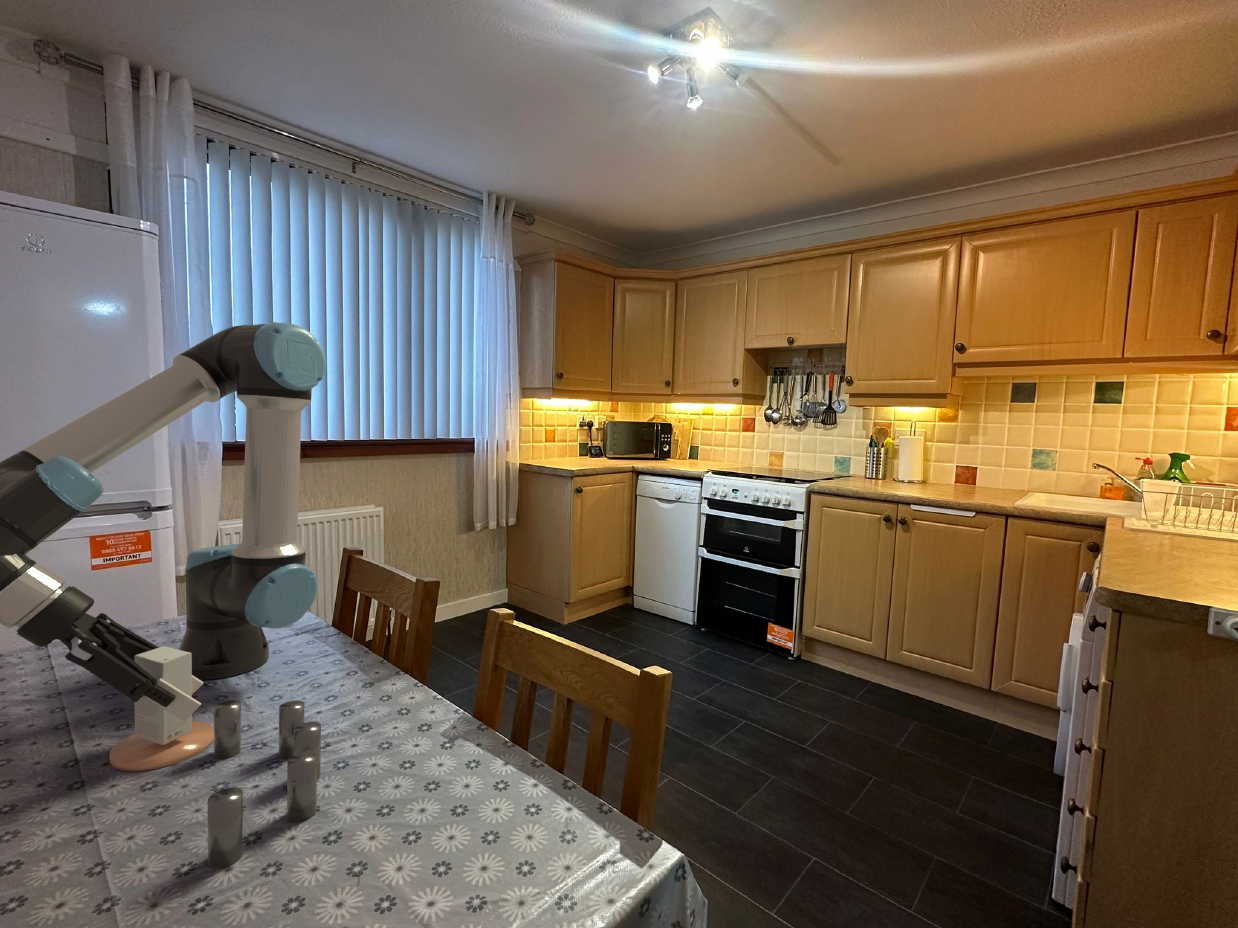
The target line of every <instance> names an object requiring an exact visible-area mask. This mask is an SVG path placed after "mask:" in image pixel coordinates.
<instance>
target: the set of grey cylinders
mask: <svg viewBox="0 0 1238 928" xmlns="http://www.w3.org/2000/svg"><path fill="white" fill-rule="evenodd" d="M213 710H214V711H213V728H214V740H213V757H214V758H215V759H218V760H223V759H224V760H225V759H229V758H233V757H235V756H237V755H238V754H239V753H240V752H241V751H242V744H241V743H242V739H241V738H242V701H240V700H238V699H228V700H224V701H221V702H218V703H217V704H215V705H214V707H213ZM321 741H322V724H321V723H320V722H318V721H314V720H313V721H306V722H305V702H304V701H303V700H290V701H286V702H283V703H282V704H280V705H279V706H278V757H279V758H280V759H283V760H284V759H285V760H287V763H286V764H287V769H286V770H287V772H286V773H287V774H286V775H287V776H286V777H287V779H286V780H287V781H286V819H287V820H288V821H289V822H293V823H301V822H304V821H306V820H309V819H311V818H312V817H313V816H315V814H316V813H317V805H318V804H317V800H318V799H317V798H318V797H317V796H318V795H317V794H318V791H317V790H318V780H319V779H320V778H321V766H322V765H321V764H322V763H321V760H322V759H321V758H322V756H321V754H322V753H321V751H322V750H321V749H322V742H321ZM243 792H244V790H243V789H242V788H240V787H235V786H234V787H226V788H222V789H220V790H216V791H215V792H214V793H212V794H211V795H210V796H208V799H207V866H208V867H209V868H210V869H214V870H215V869H216V870H217V869H223V868H226V867H230V866H231V865H234V864H236V863H237V862H238V861H239V860H240V859H241V858H242V856H243V851H244V850H243V848H244V847H243V845H244V843H243V842H244V840H243V839H244V838H243V836H244V835H243V834H244V821H243V820H244V793H243Z"/></svg>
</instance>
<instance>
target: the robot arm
mask: <svg viewBox="0 0 1238 928" xmlns="http://www.w3.org/2000/svg"><path fill="white" fill-rule="evenodd" d="M326 370H327V359H326V353H325V351H324V348H323V347H322V345H321V343H320V342H319V340H317V339H316V337H315V336H314V334H313V333H311V332H310V331H309V330H308V329H306V328H305V327H303V326H301V325H298V324H294V323H288V322H286V323H285V322H274V321H273V322H272V321H271V322H268V323H267V322H266V323H260V324H243V325H241V324H239V325H236V326H231V327H228V328H226V329H225V328H224V329H222V330H221V331H218V332H216V333H214V334H213V335H211V336H209V337H208V338H205V339H204V340H202V341H200V342H199V343H197V344H196V345H193V346H192V347H190V348H189V349H187V350H185V351H184V352H181V353H180V354H178V355H176V356H175V357H173V359H172V366H170V367H168V368H167V369H165V370H163V371H161V372H159V373H157V374H155V375H154V376H152V377H151V378H148V379H146V380H145V381H143V382H141V383H140V384H138V385H136V386H134V387H133V388H130V389H129V390H127V391H125V392H123V393H122V394H120V395H118V396H116V397H114V398H112V399H110V401H107V402H106V403H104V404H102V405H100V406H98V407H97V408H95V409H93V410H91V411H90V412H88V413H86V414H84V415H82V416H80V417H79V418H78V419H75V420H73V421H72V422H70V423H68V424H66V425H65V426H62V427H61V428H59V429H57V430H55V431H54V432H52V433H51V434H48V435H46V436H45V437H43V438H41V439H39V440H37V441H36V442H34V443H33V444H30V445H29V446H27V447H26V448H24V449H22V450H21V451H18V452H17V453H15V454H13V455H11V456H9V457H7V458H5V459H3V460H2V461H0V625H2V626H3V627H5V628H7V629H10V628H14V627H17V629H16V635H18V636H20V637H21V638H23V639H24V640H27V642H30V643H32V644H33V645H35V646H36V647H39V648H45V647H46V646H49V645H50V644H51V643H52V642H53V641H55V640H58V641H60V642H61V643H62V644H63V645H65V646H66V647H67V649H68V653H67V654H65V656H64V658H65V659H66V660H67V661H69V662H72V663H74V664H76V665H77V666H80V667H82V668H84V669H85V670H87V671H89V673H91V674H92V675H94V676H96V677H97V678H98V679H100V680H102V681H103V682H105V683H106V684H107V685H109V686H111V687H112V688H114V689H115V690H117V691H118V692H120V693H121V694H123V695H125V696H126V697H127V698H128V699H130V701H132V702H134V703H135V702H137V701H138V700H139V699H140V698H141V697H144V698H145V699H147V700H149V701H150V702H152V703H154V704H156V705H157V706H159V707H161V708H162V709H164V710H166V711H167V712H169V713H171V714H172V715H174V716H176V717H177V718H179V719H181V720H182V721H185V720H186V719H187V718H188V717H189V716H190V715H191V714H192V715H193V714H194V712H196V710H197V709H199V708H200V706H202V703H201V702H200V701H198V700H197V699H195V698H193V697H190V696H189V695H187V694H185V693H184V692H182V691H181V690H179V689H177V688H176V687H174V686H173V685H171V684H169V683H168V682H166V681H164V680H163V679H161V678H160V679H159V680H158V681H157V679H156V678H154V677H153V676H152V675H150V674H149V673H148V672H147V671H145V670H144V669H143V668H142V667H141V666H139V665H138V664H137V663H136V662H134V656H135V655H138V654H141V653H144V652H147V651H150V650H154V649H157V648H160V647H161V646H157V645H156V644H154V643H152V642H150V641H149V640H147V639H145V638H143V637H141V636H140V635H138V634H137V633H135V632H133V631H132V630H130V629H128V628H127V627H124V625H121V624H119V623H118V622H116V621H115V620H113V619H112V618H111V617H110V616H108V615H107V614H106V613H103V612H100V613H99V614H98V615H96V616H92V615H90V614H88V613H87V612H88V611H89V610H90V609H91V608H92V607H93V606H94V604H95V599H94V598H92V597H91V596H89V595H88V594H86V593H84V592H83V591H82V590H80V589H78V588H77V587H76V586H74V585H73V586H70V585H69V586H68V587H66V586H65V584H66V580H65V579H64V578H62V577H60V576H59V575H57V574H56V573H55V572H53V571H51V570H49V569H48V568H47V567H45V566H44V565H42V564H40V563H38V562H36V561H35V560H33V559H31V558H30V557H29V556H28V555H27V554H28V553H29V552H31V551H32V550H33V549H35V548H37V547H38V545H40V544H41V543H43V542H44V541H46V540H47V539H48V538H49V537H51V536H52V535H53V534H55V533H56V532H57V531H59V530H60V529H61V528H62V527H64V526H65V525H66V524H68V523H69V522H71V521H72V520H73V519H75V518H76V517H77V516H79V515H80V514H81V513H83V512H85V511H86V510H88V508H89V507H90V506H91V505H92V504H94V502H96V500H98V499H99V498H101V496H102V495H103V493H104V486H103V483H101V482H100V479H98V478H97V477H96V476H95V475H94V474H93V472H95V471H96V470H97V469H99V468H100V467H102V466H104V465H106V464H107V463H109V462H110V461H112V460H114V459H115V458H117V457H118V456H120V455H122V454H123V453H124V452H126V451H128V450H130V449H131V448H133V447H135V446H136V445H137V444H139V443H141V442H142V441H144V440H145V439H148V438H149V437H150V436H152V435H154V434H155V433H156V432H158V431H160V430H162V429H164V428H165V427H166V426H168V425H170V424H171V423H172V422H174V421H176V420H178V419H180V418H181V417H182V416H184V415H185V414H187V413H189V412H190V411H192V410H193V409H195V408H197V407H199V406H200V405H202V404H203V403H205V402H209V403H216V402H217V401H220V400H221V399H223V398H224V397H226V396H228V395H230V394H233V393H235V392H236V398H237V399H238V400H239V401H240V402H241V403H242V404H243V405H244V407H245V408H246V410H245V411H246V414H245V415H246V416H245V442H244V445H245V447H244V451H245V452H244V474H243V475H244V477H243V500H242V501H243V507H242V508H243V509H242V531H241V532H242V534H241V537H242V539H241V543H236V544H235V543H234V544H233V543H232V544H224V545H216V546H210V547H205V548H204V547H203V548H199V549H195V550H193V551H191V552H190V553H188V554H187V557H186V558H187V559H186V566H185V570H184V573H185V593H186V594H185V599H186V600H185V602H186V611H185V612H186V615H185V617H186V619H185V620H186V622H185V623H186V628H185V632H184V636H183V637H182V640H181V643H180V646H179V649H178V650H181V651H186V652H190V653H192V695H194V693H196V691H197V690H199V688H201V686H203V685H204V681H202V680H213V679H215V680H217V679H221V678H223V679H224V678H229V677H232V676H237V675H241V674H244V673H248V672H250V671H253V670H255V669H258V668H259V667H261V666H263V665H264V664H265V663H266V662H268V660H269V659H270V658H269V657H270V647H269V646H270V645H269V643H268V641H267V638H266V635H265V633H264V630H263V628H268V629H282V628H286V627H289V626H291V625H293V624H294V623H295V624H296V622H298V621H299V620H301V619H302V618H303V617H304V616H305V614H306V612H308V611H309V610H310V609H311V608H312V606H313V605H314V602H315V600H316V598H317V595H318V592H319V591H318V590H319V584H318V583H319V582H318V578H317V575H316V574H315V573H314V572H313V571H312V569H311V568H310V567H308V566H306V551H307V549H306V548H305V547H304V545H302V544H301V543H300V542H299V541H298V524H299V523H298V520H299V496H300V495H299V490H300V467H301V466H300V463H301V438H302V437H301V436H302V435H301V433H302V412H303V410H304V409H305V408H306V407H308V406H309V405H310V404H311V403H312V393H313V391H312V389H314V388H315V387H317V386H318V385H319V383H320V381H322V380H323V379H324V377H325V374H326ZM137 684H139V685H137Z"/></svg>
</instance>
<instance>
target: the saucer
mask: <svg viewBox="0 0 1238 928" xmlns="http://www.w3.org/2000/svg"><path fill="white" fill-rule="evenodd" d="M213 743H214V726H213V725H211V724H210V723H207V722H202V721H195V720H194V721H193V720H192V731H191V732H190V733H188V734H186V735H184V736H181V737H179V738H177V739H175V740H173V741H171V742H169V743H167V744H165V745H161V744H158V743H155V742H152V741H148V740H145V739H142V738H139V737H135V733H133V734H131V735H129V736H127V737H126V738H124V739H122V740H121V741H119V742H118V743H116V744H115V746H113V747H112V748H111V750H110V753H109V764H110V765H111V767H113V768H114V769H117V770H120V771H124V772H129V771H130V772H140V771H141V772H142V771H151V770H157V769H161V768H166V767H169V766H172V765H176V764H179V763H182V762H184V761H187V760H188V759H191V758H193V757H195V756H197V755H198V754H200V753H203V752H205V750H206V749H207V748H208V747H210V746H211V745H212V744H213Z"/></svg>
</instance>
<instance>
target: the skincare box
mask: <svg viewBox="0 0 1238 928" xmlns="http://www.w3.org/2000/svg"><path fill="white" fill-rule="evenodd" d="M159 647H160V648H157V649H154V650H150V651H147V652H144V653H141V654H138V655H135V656H134V662H136V663H137V664H138V665H139V666H141V667H142V668H143V669H144V670H145V671H147V672H148V673H149V674H150V675H152V676H153V677H154V678H156V679H157V681H158V680H159V679H160V678H161V679H163V680H164V681H166V682H168V683H169V684H171V685H173V686H174V687H176V688H177V689H179V690H181V691H182V692H184V693H185V694H187V695H189V696H190V697H192V695H193V694H192V653H190V652H186V651H181V650H179V649H176V648H172V647H167V646H165V645H163V646H159ZM137 685H139V684H137ZM192 698H193V697H192ZM192 721H193V713H192V714H191V715H190V716H189V717H188V718H187V719H186V720H185V721H182V720H181V719H179V718H177V717H176V716H174V715H172V714H171V713H169V712H167V711H166V710H164V709H162V708H161V707H159V706H157V705H156V704H154V703H152V702H150V701H149V700H147V699H145V698H144V697H141V698H140V699H139V700H138V701H137V702H134V734H135V737H139V738H142V739H145V740H148V741H152V742H155V743H158V744H161V745H165V744H167V743H169V742H171V741H173V740H175V739H177V738H179V737H181V736H184V735H186V734H188V733H190V732H191V731H192Z"/></svg>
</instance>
